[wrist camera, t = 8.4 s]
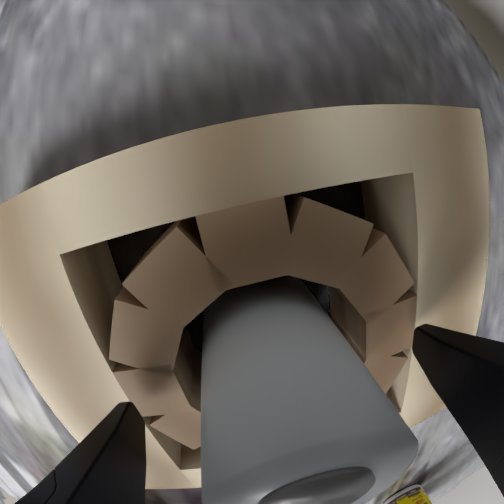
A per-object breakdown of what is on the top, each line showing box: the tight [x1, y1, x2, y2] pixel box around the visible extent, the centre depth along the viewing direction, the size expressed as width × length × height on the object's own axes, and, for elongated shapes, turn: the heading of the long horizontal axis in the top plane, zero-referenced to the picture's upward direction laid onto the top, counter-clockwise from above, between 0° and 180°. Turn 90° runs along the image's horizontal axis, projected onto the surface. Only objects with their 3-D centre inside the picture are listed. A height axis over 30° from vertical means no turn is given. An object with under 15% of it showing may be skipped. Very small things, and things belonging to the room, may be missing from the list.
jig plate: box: [0, 104, 490, 489], centre depth 10 cm, size 18×14×4 cm
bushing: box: [201, 275, 419, 504], centre depth 8 cm, size 4×4×8 cm
